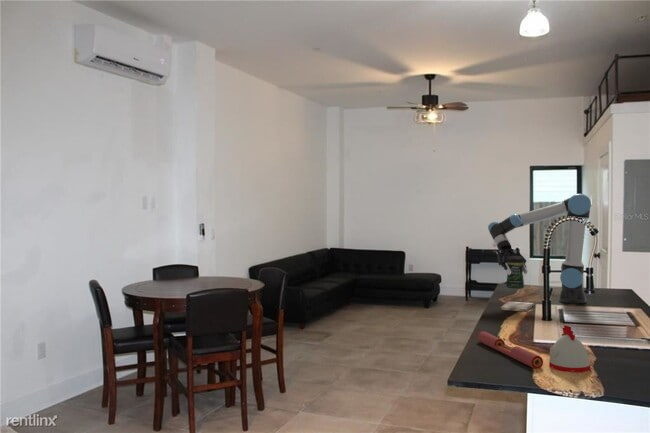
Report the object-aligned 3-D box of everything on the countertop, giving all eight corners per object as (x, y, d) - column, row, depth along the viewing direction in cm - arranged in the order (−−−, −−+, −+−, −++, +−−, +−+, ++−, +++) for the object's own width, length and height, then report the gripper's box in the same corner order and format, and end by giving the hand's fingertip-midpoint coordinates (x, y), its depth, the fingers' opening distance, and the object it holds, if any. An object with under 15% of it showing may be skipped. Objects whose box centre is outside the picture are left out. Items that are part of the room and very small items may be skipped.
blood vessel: (477, 343, 247) (477, 331, 247) (488, 342, 249) (487, 330, 248) (531, 369, 206) (531, 356, 206) (543, 368, 207) (543, 355, 207)
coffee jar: (505, 288, 323) (505, 256, 323) (507, 286, 330) (507, 255, 330) (523, 289, 319) (522, 256, 319) (525, 287, 326) (524, 255, 326)
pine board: (533, 305, 329) (533, 302, 329) (526, 311, 312) (526, 308, 312) (509, 303, 337) (509, 301, 337) (500, 309, 320) (500, 306, 320)
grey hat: (578, 360, 215) (578, 321, 215) (597, 371, 201) (596, 329, 201) (543, 362, 215) (542, 323, 214) (559, 373, 201) (558, 331, 201)
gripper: (517, 247, 342) (532, 276, 327) (483, 248, 336) (498, 278, 321) (521, 239, 336) (538, 268, 321) (488, 240, 331) (503, 270, 316)
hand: (518, 273), depth 321 cm, fingers closed on coffee jar, 10 cm apart
